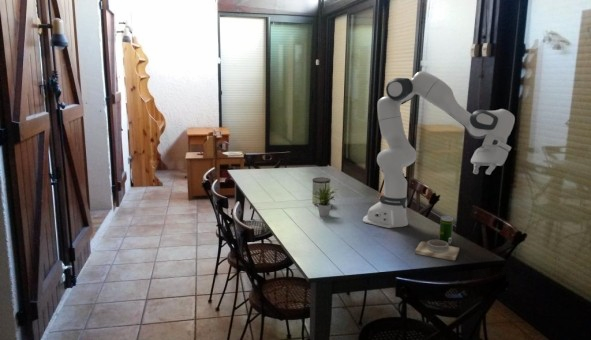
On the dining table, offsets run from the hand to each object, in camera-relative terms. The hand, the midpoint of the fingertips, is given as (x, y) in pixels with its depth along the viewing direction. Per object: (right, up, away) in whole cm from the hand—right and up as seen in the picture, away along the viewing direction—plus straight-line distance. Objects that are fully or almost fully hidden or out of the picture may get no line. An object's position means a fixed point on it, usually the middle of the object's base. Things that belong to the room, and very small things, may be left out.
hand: (481, 173), depth 204 cm
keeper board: (-21, -33, -6) cm, 40 cm away
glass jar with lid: (-66, -18, +66) cm, 96 cm away
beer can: (-14, -31, +5) cm, 35 cm away
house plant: (-66, -23, +42) cm, 81 cm away
